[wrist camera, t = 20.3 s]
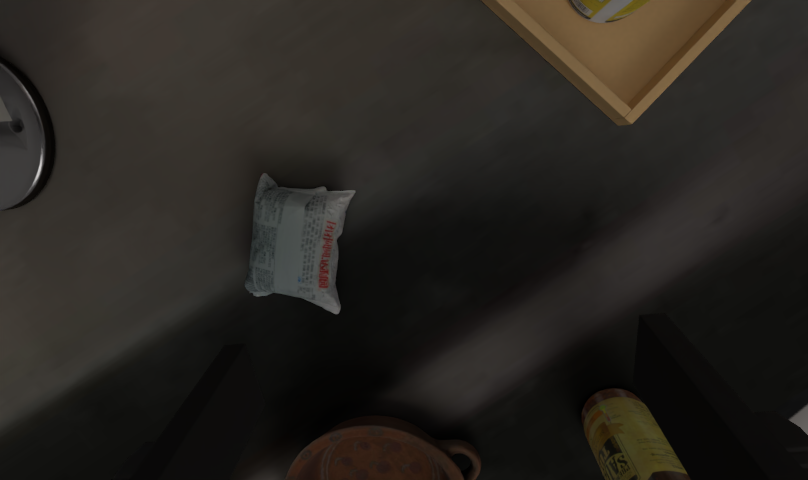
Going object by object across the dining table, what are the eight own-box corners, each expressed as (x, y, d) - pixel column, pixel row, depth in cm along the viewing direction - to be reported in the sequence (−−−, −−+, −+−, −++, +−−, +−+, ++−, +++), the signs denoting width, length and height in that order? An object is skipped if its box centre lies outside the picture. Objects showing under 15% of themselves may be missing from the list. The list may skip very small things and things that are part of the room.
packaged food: (361, 187, 39) (348, 193, 34) (343, 307, 42) (329, 328, 37) (269, 170, 40) (244, 174, 35) (258, 289, 42) (233, 308, 38)
